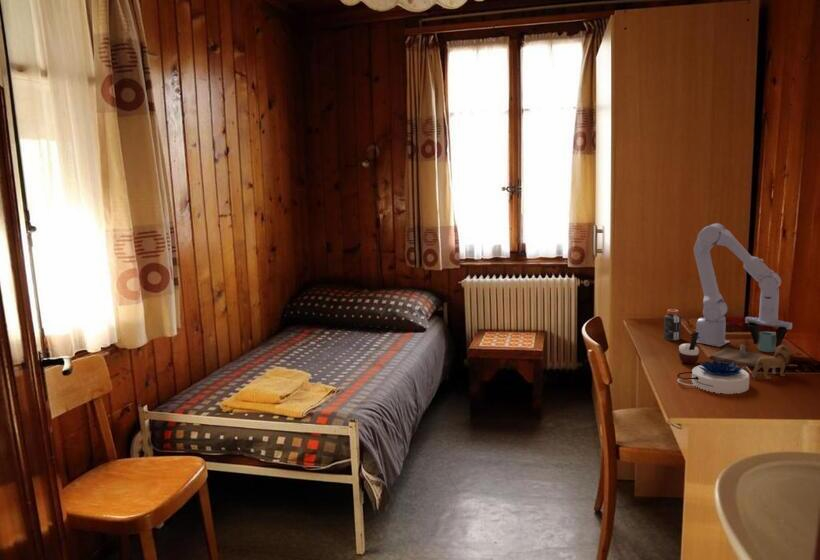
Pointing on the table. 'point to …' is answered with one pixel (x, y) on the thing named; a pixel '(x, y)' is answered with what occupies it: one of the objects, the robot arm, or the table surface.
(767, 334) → the grey-green cylinder
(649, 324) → the table surface
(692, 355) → the cocoa
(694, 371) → the white round gift box
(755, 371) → the lion figurine
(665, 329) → the pill bottle
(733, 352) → the roll stand
